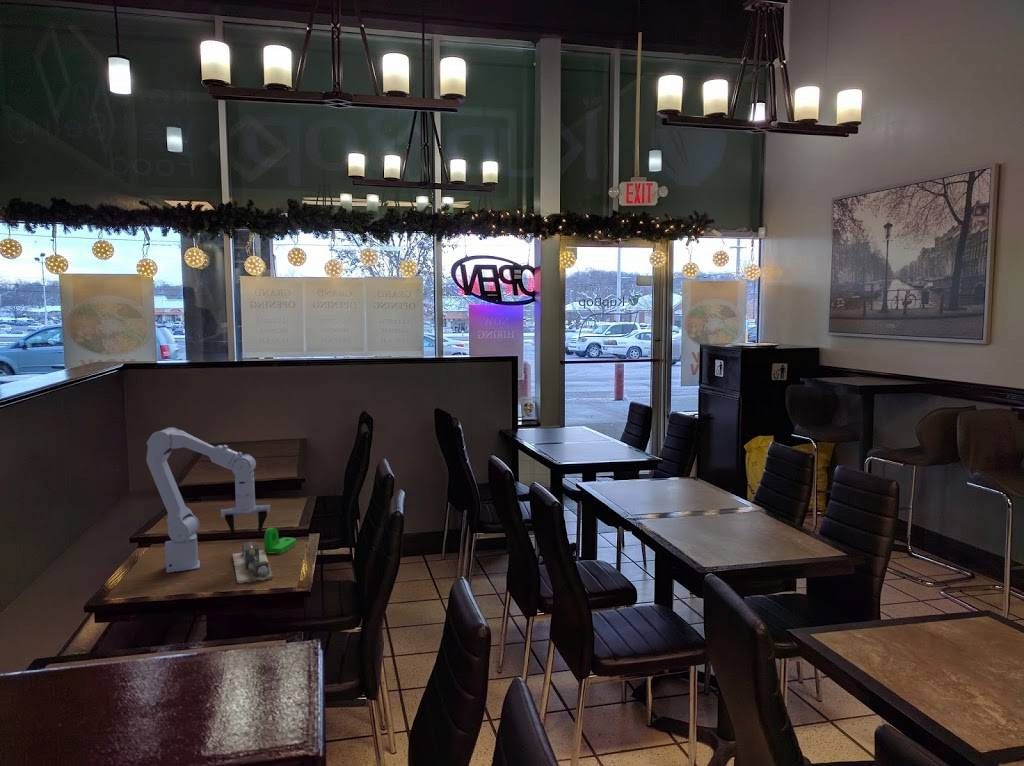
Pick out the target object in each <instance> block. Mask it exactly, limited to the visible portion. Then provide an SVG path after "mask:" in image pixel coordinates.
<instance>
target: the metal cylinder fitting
mask: <svg viewBox="0 0 1024 766" xmlns="http://www.w3.org/2000/svg"><path fill="white" fill-rule="evenodd" d="M248 542H249V541H248ZM248 542H247V541H246V542H245V543H248ZM243 543H244V542H241V553H242V554H243V555H244V548H243Z"/></svg>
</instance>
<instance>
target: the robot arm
mask: <svg viewBox="0 0 1024 766" xmlns="http://www.w3.org/2000/svg"><path fill="white" fill-rule="evenodd" d="M146 445H147V450H146V451H147V452H146V460H145V461H146V464H147V466H148V469H149V471H150V474H151V476H152V480H153V481H154V484H155V486H156V488H157V490H158V492H159V495H160V498H161V500H162V502H163V505H164V507H165V509H166V512H167V519H166V524H167V534H168V537H169V538H170V540H167V541H165V542H164V543H165V544H164V546H165V547H164V551H165V554H164V555H165V559H164V565H165V569H166V570H165V572H166V573H174V572H175V571H176V572H183V571H190V570H198V569H201V564H200V563H201V562H200V559H199V554H198V553H199V551H198V535H197V532H198V530H199V529H200V520H199V519H198V517H196V516H195V515H194V513H193V512H192V509H190V508H189V507H187V506H186V504H185V501H184V499H183V496H182V494H181V492H180V490H179V487H178V485H177V481H176V480H175V478H174V475H173V473H172V470H171V467H170V465H169V463H168V459H169V457H170V455H171V454H172V451H173V450H175V449H182V448H186V449H188V450H191V451H194V452H196V453H199V454H201V455H205V456H207V457H209V459H210V461H211V462H212V463H214V464H216V465H218V466H221V467H222V468H225V469H228V470H230V471H231V472H232V473H233V475H234V486H235V487H234V489H235V491H234V492H235V507H230V508H225V509H223V508H222V509H220V517H221V518H224V519H225V522H226V523H227V525H228V527H229V529H230V532H231V536H232V540H235V539H236V533H235V532H236V531H235V520H234V517H235V516H242V515H251V514H257V520H258V521H257V523H258V525H257V526H258V528H257V533H258V534H257V535H258V537H261V536H262V530H263V527H264V524H265V521H266V519H267V516H268V513H271V505H270V504H263V505H262V504H261V505H258V504H257V505H256V492H255V491H256V490H255V489H256V488H255V483H256V482H255V471H254V470H255V469H256V466H257V461H256V458H255V457H253V456H252V455H251V454H248V453H245V454H243V452H241V451H239V452H238V451H235V450H233V449H231V448H229V446H228V445H227V444H224V445H222V444H221V445H220V444H218V445H216V446H214V445H212V444H210V443H208V442H205V441H204V440H202V439H199V438H198V437H195V436H193V435H192V434H189V433H187V432H186V431H185V430H182V429H178V428H176V427H173V426H171V427H166V428H165V429H162V430H159V431H155V432H153V433H152V434H151V435H150V437H149V439H148V440H147V441H146Z"/></svg>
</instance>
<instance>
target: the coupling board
mask: <svg viewBox="0 0 1024 766" xmlns="http://www.w3.org/2000/svg"><path fill="white" fill-rule="evenodd" d="M232 561H234V562H233V567H234V566H235V567H234V573H235V572H236V573H235V578H236V583H239V584H245V583H244V582H247V583H253V582H252V581H254V582H257V581H256V580H261V581H266V579H268V580H272V579H274V575H273V572H272V570H271V566H270V565H269V574H268V576H266V577H261V576H260V577H254V576H253V572H252V571H251V570H249V569H246V568H245V564H244V555H243V554H242V552H238V553H232ZM264 561H266V562H268V563H269V560H268V556H267V553H265V549H261V550H260V549H259V563H260V562H264Z"/></svg>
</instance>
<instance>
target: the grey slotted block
mask: <svg viewBox="0 0 1024 766" xmlns="http://www.w3.org/2000/svg"><path fill="white" fill-rule="evenodd" d="M242 543H243V548H244V564H245V568H246V569H249V568H248V566H249V563H250V562H252V561H256V562H258V563H259V551H260V548H259V546H258V542H257V541H248V543H246V542H242Z"/></svg>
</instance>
